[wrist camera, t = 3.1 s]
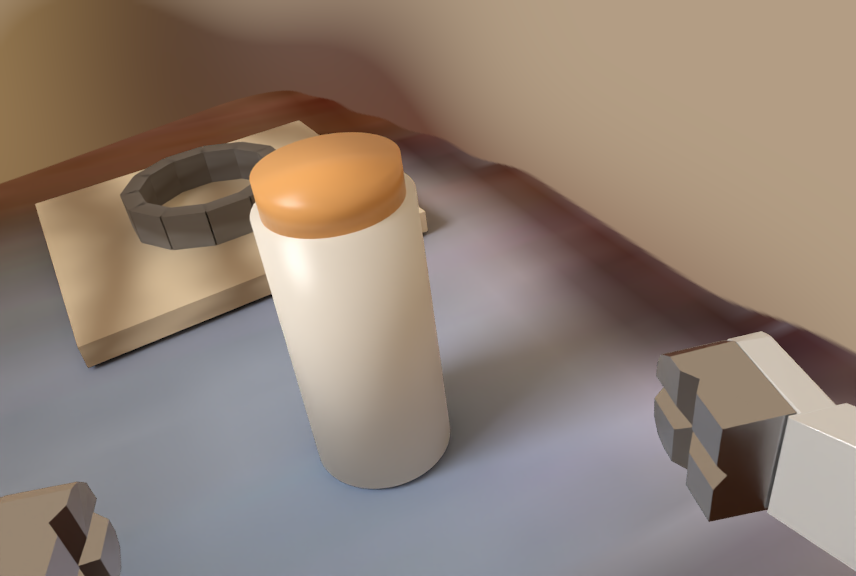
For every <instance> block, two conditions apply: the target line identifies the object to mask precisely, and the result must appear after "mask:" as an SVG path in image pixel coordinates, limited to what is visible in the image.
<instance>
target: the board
mask: <svg viewBox="0 0 856 576" xmlns="http://www.w3.org/2000/svg"><path fill="white" fill-rule="evenodd" d="M314 136H319V135H318V134H317V133H316V132H314V131H313V130H312V129H310V128H309V127H307V126H306V125H305V124H303V123H302V122H300V121H295V122H292V123H289V124H286V125H283V126H280V127H276V128H273V129H270V130H267V131H264V132H261V133H258V134H254V135H251V136H248V137H245V138H242V139H239V140H235V141H232V142H229V143H225V144H217V145H208V146H203V147H199V148H195V149H192V150H189V151H186V152H183V153H179V154H176V155H173V156H170V157H167V158H165V159H162V160H160V161H159V162H157V163H155V164H153V165H152V166H150V167H148V168H146V169H144V170H141V171H138V172H134V173H131V174H128V175H125V176H122V177H119V178H116V179H112V180H109V181H106V182H103V183H100V184H97V185H93V186H90V187H87V188H84V189H81V190H78V191H75V192H71V193H68V194H65V195H62V196H59V197H56V198H52V199H49V200H46V201H43V202H40V203H37V204H35V205H36V209H37V212H38V215H39V219H40V222H41V226H42V229H43V232H44V236H45V239H46V242H47V246H48V249H49V252H50V256H51V259H52V263H53V266H54V269H55V273H56V276H57V279H58V283H59V286H60V289H61V293H62V296H63V299H64V303H65V306H66V310H67V313H68V316H69V320H70V323H71V326H72V330H73V333H74V336H75V340H76V343H77V346H78V349H79V351H80V353H81V355H82V357H83V359H84V361H85V363H86V365H87V367H88V368H89V367H92V366H94V365H97V364H99V363H101V362H104V361H106V360H109V359H111V358H114V357H116V356H119V355H121V354H124V353H126V352H129V351H131V350H134V349H136V348H139V347H141V346H144V345H146V344H149V343H151V342H153V341H156V340H158V339H161V338H163V337H166V336H168V335H171V334H173V333H176V332H178V331H181V330H183V329H186V328H188V327H191V326H193V325H196V324H198V323H201V322H203V321H205V320H208V319H210V318H213V317H215V316H218V315H220V314H223V313H225V312H228V311H230V310H233V309H235V308H238V307H240V306H243V305H245V304H248V303H250V302H253V301H255V300H257V299H260V298H262V297H265V296H267V295H270V294H272V293H271V290H270V287H269V283H268V280H267V277H266V273H265V270H264V266H263V263H262V260H261V256H260V253H259V249H258V246H257V243H256V239H255V236H254V232H253V229H252V226H251V222H250V212H251V209H252V207H253V205H254V203H255V198H254V195H253V191H252V188H251V184H250V181H249V176H250V173H251V171H252V169H253V167H254V166H255V165H256V164H257V163H258V162H259V161H260V160H261V159H262V158H264V157H265V156H266V155H268V154H270V153H271V152H273V151H275V150H277V149H279V148H281V147H283V146H286V145H288V144H291V143H293V142H296V141H299V140H303V139H306V138H310V137H314ZM419 213H420V220H421V227H422V233H423V232H426V231H428V228H427V221H426V214H425V211H424V210H423V209H421V208H420V207H419Z"/></svg>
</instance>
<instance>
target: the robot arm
mask: <svg viewBox="0 0 856 576" xmlns="http://www.w3.org/2000/svg"><path fill="white" fill-rule="evenodd" d="M656 376H657V378H658V379H659V381H660V382H661V384H662V385H663V389H662V390H661V391H660V392H659V394H658V395H657V396H656V397H655V402H654V418H655V422H656V427H657V432H658V435H659V438H660V440H661V442H662V445H663V447H664V449H665V451H666V452H667V454H668V456H669V458H670V459H671V461H673V462H675V463H676V464H678V465H680V466H682V467H684V468H686V469H687V478H686V486H687V487H688V489H689V491H690V492H691V494H692V496H693V497H694V499H695V500H696V502H697V504H698V505H699V507H700V508H701V510H702V512H703V513H704V515H705V517H706V518H707V520H708V521H709V522H710V521H715V520H720V519H724V518H729V517H734V516H739V515H744V514H748V513H753V512H758V511H763V510H768V511H767V513H769V514H770V515H772V516H773V517H775V518H776V519H778V520H779V521H781V522H782V523H784V524H785V525H787V526H788V527H790V528H791V529H793V530H794V531H796V532H797V533H799V534H800V535H802V536H803V537H805V538H806V539H808V540H809V541H811V542H812V543H814V544H815V545H817V546H818V547H820V548H821V549H823V550H824V551H826V552H827V553H829V554H830V555H832V556H833V557H835V558H836V559H838V560H839V561H841V562H842V563H844V564H845V565H847V566H848V567H850V568H851V569H853V570H854V571H856V407H855V406H852V405H850V404H847V403H845V404H840V405H836V404H835V403H834V402H833V401H832V400H831V399H830V398H829V397H828V396H827V395H826V394H825V393H824V392H823V391H822V390H821V389H820V388H819V387H818V385H817V384H816V383H815V382H814V381H813V380H812V379H811V378H810V377H809V376H808V375H807V374H806V373H805V372H804V371H803V370H802V369H801V368H800V366H799V365H798V364H797V363H796V362H795V361H794V360H793V359H792V358H791V357H790V356H789V355H788V354H787V353H786V352H785V351H784V350H783V349H782V348H781V346H780V345H779V344H778V343H777V342H776V341H775V340H774V339H773V338H772V337H771V336H770V335H769V334H766V333H764V332H762V331H761V332H757V333H752V334H748V335H744V336H739V337H735V338H731V339H728V340H723V341H719V342H714V343H710V344H705V345H701V346H697V347H692V348H688V349H683V350H679V351H674V352H670V353H666V354H661V356H660V358H659V360H658V362H657V373H656ZM96 499H97V498H96V497H95V495H94V494H93V492H92V491H91V489H90V488H89V486H88V485H87V483H84V482H73V483H68V484H63V485H58V486H53V487H48V488H42V489H37V490H32V491H27V492H22V493H17V494H11V495H6V496H4V497H1V498H0V576H120V572H121V554H120V545H119V541H118V538H117V535H116V531H115V529H114V528H113V526H112V524H111V522H110V521H109V519H107V518H104V517H102V516H100V515H98V514H96V513H94V512H93V511H94V507H95V503H96Z"/></svg>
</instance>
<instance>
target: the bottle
mask: <svg viewBox="0 0 856 576" xmlns="http://www.w3.org/2000/svg"><path fill="white" fill-rule="evenodd" d="M249 181H250V184H251V188H252V191H253V195H254V198H255V203H254V205H253V207H252V209H251V212H250V222H251V226H252V229H253V232H254V236H255V239H256V243H257V246H258V249H259V253H260V256H261V260H262V263H263V266H264V270H265V273H266V277H267V280H268V283H269V287H270V290H271V293H272V297H273V300H274V304H275V307H276V310H277V314H278V317H279V321H280V324H281V327H282V331H283V334H284V338H285V341H286V344H287V348H288V351H289V355H290V358H291V361H292V365H293V368H294V371H295V375H296V378H297V382H298V385H299V388H300V392H301V395H302V399H303V402H304V405H305V409H306V412H307V416H308V419H309V422H310V426H311V429H312V432H313V436H314V439H315V443H316V446H317V449H318V453H319V456H320V459H321V462H322V464H323V466H324V467H325V468H326V470H327V471H328V472H329V473H330V474H331V475H332V476H333V477H335V478H336V479H338V480H339V481H341V482H343V483H346V484H348V485H351V486H354V487H360V488H368V489H381V488H388V487H394V486H398V485H401V484H404V483H407V482H409V481H411V480H414V479H416V478H418V477H419V476H421V475H422V474H424V473H426V472H427V471H428V470H429V469H431V468H432V467H433V466H434V465H435V464H436V463H437V462H438V461H439V459H440V458H441V457H442V455H443V454H444V452H445V450H446V448H447V446H448V443H449V439H450V423H449V416H448V409H447V402H446V395H445V388H444V381H443V374H442V367H441V360H440V353H439V346H438V339H437V332H436V325H435V318H434V311H433V304H432V297H431V290H430V283H429V276H428V269H427V262H426V255H425V248H424V241H423V234H422V227H421V220H420V213H419V206H418V199H417V192H416V186H415V183H414V181H413V180H412V179H411V178H410V177H409V176H408V175H407V174H406V173H404V172H403V166H402V159H401V152H400V149H399V147H398V146H397V145H396V143H394V142H393V141H391V140H390V139H388V138H385V137H382V136H379V135H375V134H369V133H360V132H344V133H332V134H325V135H319V136H314V137H310V138H306V139H303V140H299V141H296V142H293V143H291V144H288V145H286V146H283V147H281V148H279V149H277V150H275V151H273V152H271V153H270V154H268V155H266V156H265V157H264V158H262V159H261V160H260V161H259V162H258V163H257V164H256V165H255V166H254V167H253V169H252V171H251V173H250V176H249Z"/></svg>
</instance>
